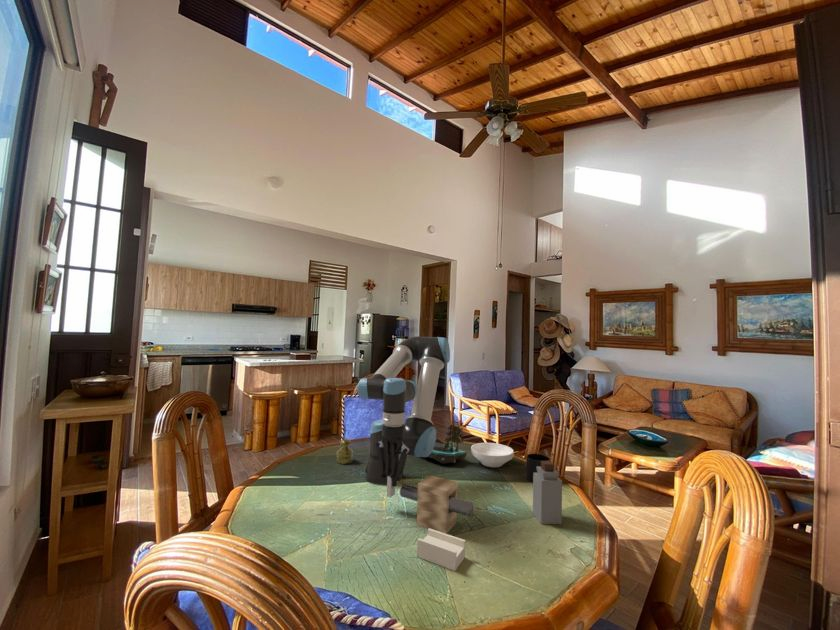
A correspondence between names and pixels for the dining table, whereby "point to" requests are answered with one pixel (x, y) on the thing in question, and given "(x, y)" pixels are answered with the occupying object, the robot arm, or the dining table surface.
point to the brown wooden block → (436, 503)
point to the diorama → (448, 447)
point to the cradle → (441, 549)
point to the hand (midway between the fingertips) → (390, 495)
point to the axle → (454, 503)
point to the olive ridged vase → (344, 452)
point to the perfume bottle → (547, 494)
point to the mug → (534, 464)
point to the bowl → (492, 454)
